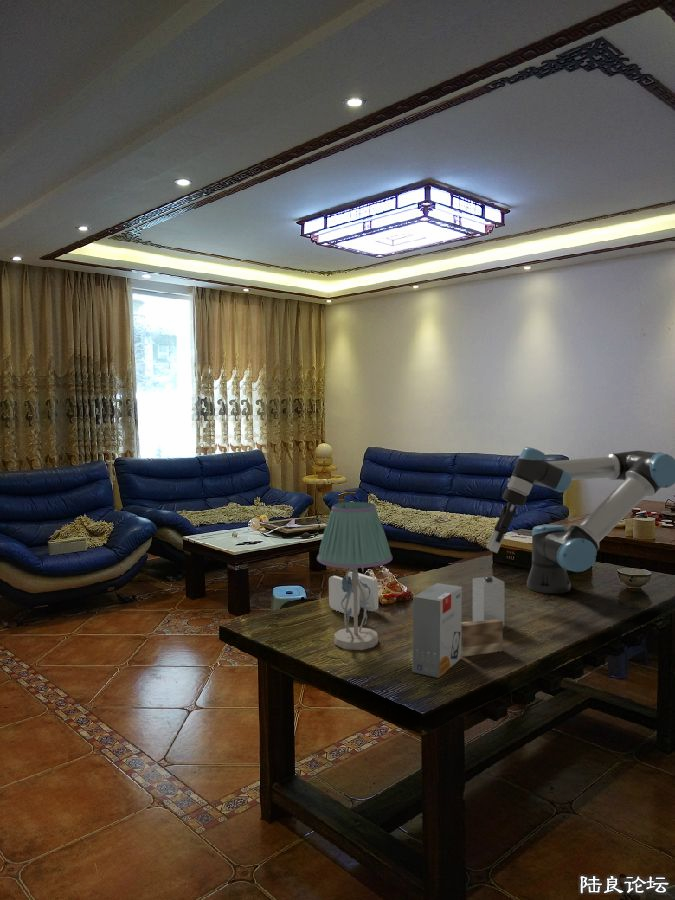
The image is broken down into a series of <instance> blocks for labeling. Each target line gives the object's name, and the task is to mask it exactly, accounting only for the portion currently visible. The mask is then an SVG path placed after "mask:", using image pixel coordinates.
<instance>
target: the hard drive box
mask: <svg viewBox="0 0 675 900" xmlns="http://www.w3.org/2000/svg"><path fill="white" fill-rule="evenodd" d="M462 591H463V587H462V586H458V585H452V584H445V583H440V582H439V583H438V582H436V583H434V584H433V585H431V586H430V587H428V588H426V589H424V590H423V591H421V592H420V593H418V594H416V595H414V596H413V597H412V657H411V658H412V660H411V661H412V664H411V667H412V668H411V669H412V672H413V673H416V674H420V675H424V676H427V677H428V676H429V677H432V678H437V679H439V678H441V677H442V676H443V675H445V674H446V673H447V672H448V671H449V670H450V669H451V668H452V667H453V666H454V665H456V664H457V663H458V662H459V661H460V660H461V659H462V655H461V623H462V617H463V615H462V611H463V609H462V605H463V604H462V600H463V599H462V598H463V597H462V594H463V592H462Z"/></svg>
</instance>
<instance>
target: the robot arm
mask: <svg viewBox="0 0 675 900" xmlns="http://www.w3.org/2000/svg"><path fill="white" fill-rule="evenodd" d="M545 457H546V455H545V453H544V452H542V451H540V450H539V449H537V448H534V447H529V446H526V447H524V448H523V449H522V451H521V453H520V455H519V456H518V460H517V462H516V464H515V467H514V469H513V471H512V473H511V477H510V478H509V477H508V478H507V481H508V483H507V485H506V487H507V488H506V489H505V490H504V492H503V494H502V497H501V499H502V500H505V501H506V502H507V503H505V504H504V506H503V507H502V509H501V512H500V516H499V518H498V519H497V521H496V525H495V526H494V530H493V531H492V534H491V535H490V538H489V540H488V542H487V546H486V548H487V549H488V550H489V551H491V552H493V553H495V554H498V552H499V550H500V547H501V545H502V543H503V541H504V538H505V536H506V534H507V533H508V531H509V527H510V525H511V523H512V520H513V518H514V515H515V514H516V512H517V511H516V510H517V506H518V507H524V506H525V504H526V502H527V499H528V497H527V496H529V495H530V492H531V490H532V488H533V485H537V486H540V487H544V488H548V489H551V490H553V491H555V492H558V493H564V492H566V491H567V490H568V489H569V487H570V485H571V484H572V481H579V480H580V481H581V480H583V481H584V480H591V479H609V480H611V481H616V480H621V481H622V482H621V483H620V484H619V486H617V487H616V488H615V489H614V490H613V491H612V492H611V493H610V494H609V495H608V496H606V498H605V499H604V500H603V501H602V502H601V503H600V504H599V505H598V506H597V507H596V508H595V509H594V510H593V511H592V512H591V513H590V514H589V515H588V516H587V517H586V518H584V519H583V520H582V521H581V522H580V524H576V523H575V524H572V525H570V527H569V528H568V529H567V527H566V526H565V525H561V524H544V525H543V524H542V525H536V526H534V527H533V528H532V532H531V568H530V571H529V574H528V577H527V581H526V588H528V589H529V590H530V591H533V592H537V593H543V594H565V593H567V592H570V591H571V581H570V578H569V574H568V572H567V571H571V572H575V573H579V572H584V571H587V570H589V569H590V568H591V567H592V566H593V565H594V563H595V562H596V559H597V555H598V554H597V553H598V551H599V550H600V542H601V541H602V540H603V539H604V538H605V537H606V536H607V535H608V534H609V533H610V532H611V531H612V530H613V529H614V528H615V527H616V526H617V525H618V524H619V523H620V522H621V521H622V520H623V519H624V518H626V516H627V515H628V514H629V513H630V512H631V511H632V510H633V509H634V508H635V507H636V506H638V505H639V503H640V502H641V501H643V500H644V499H645V497H653V496H654V495H655V494H656V493H657V492H658V491H659V490H660V489H667V488H670V487H672V486H673V485H675V458H674V457H673V456H671V454H668V453H663V452H653V451H652V452H651V451H645V450H631V451H630V450H629V451H624V452H617V453H616V452H615V453H608V454H606V455H605V456H604V457H603V456H601V457H589V458H578V459H577V458H576V459H575V458H574V459H565V460H564V459H562V460H561V459H560V460H551V461H546V460H545Z"/></svg>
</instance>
